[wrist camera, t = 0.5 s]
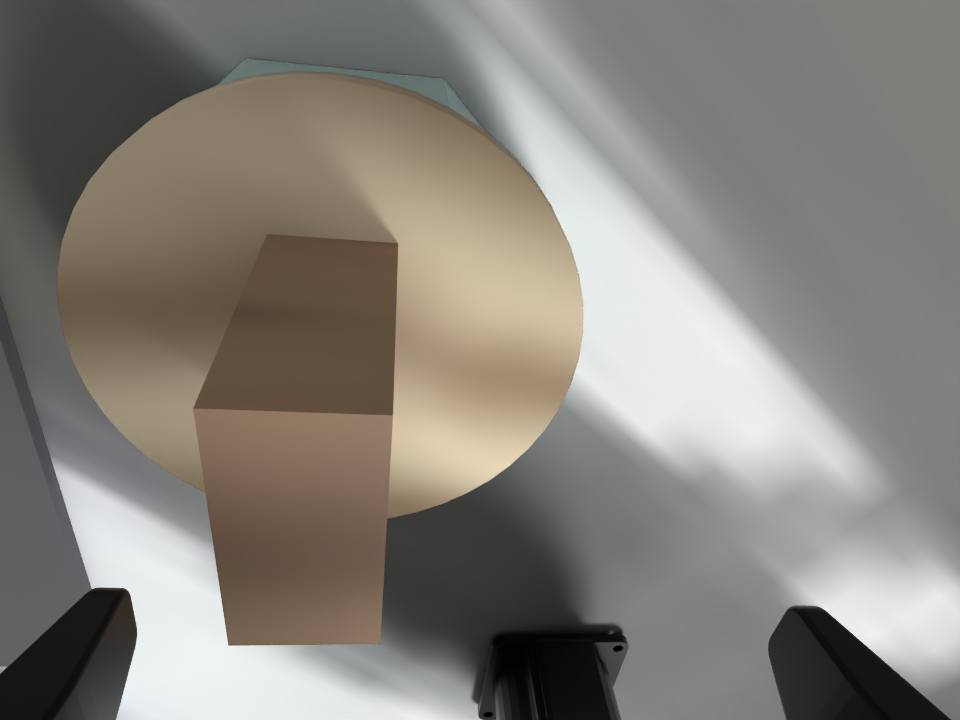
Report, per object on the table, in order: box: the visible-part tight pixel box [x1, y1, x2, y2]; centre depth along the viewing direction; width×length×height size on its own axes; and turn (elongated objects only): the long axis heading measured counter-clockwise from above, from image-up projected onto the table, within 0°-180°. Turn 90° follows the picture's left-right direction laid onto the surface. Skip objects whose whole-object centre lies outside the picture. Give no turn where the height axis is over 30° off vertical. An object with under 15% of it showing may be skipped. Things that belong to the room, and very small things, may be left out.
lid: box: [57, 71, 583, 645], centre depth 15 cm, size 13×13×7 cm
